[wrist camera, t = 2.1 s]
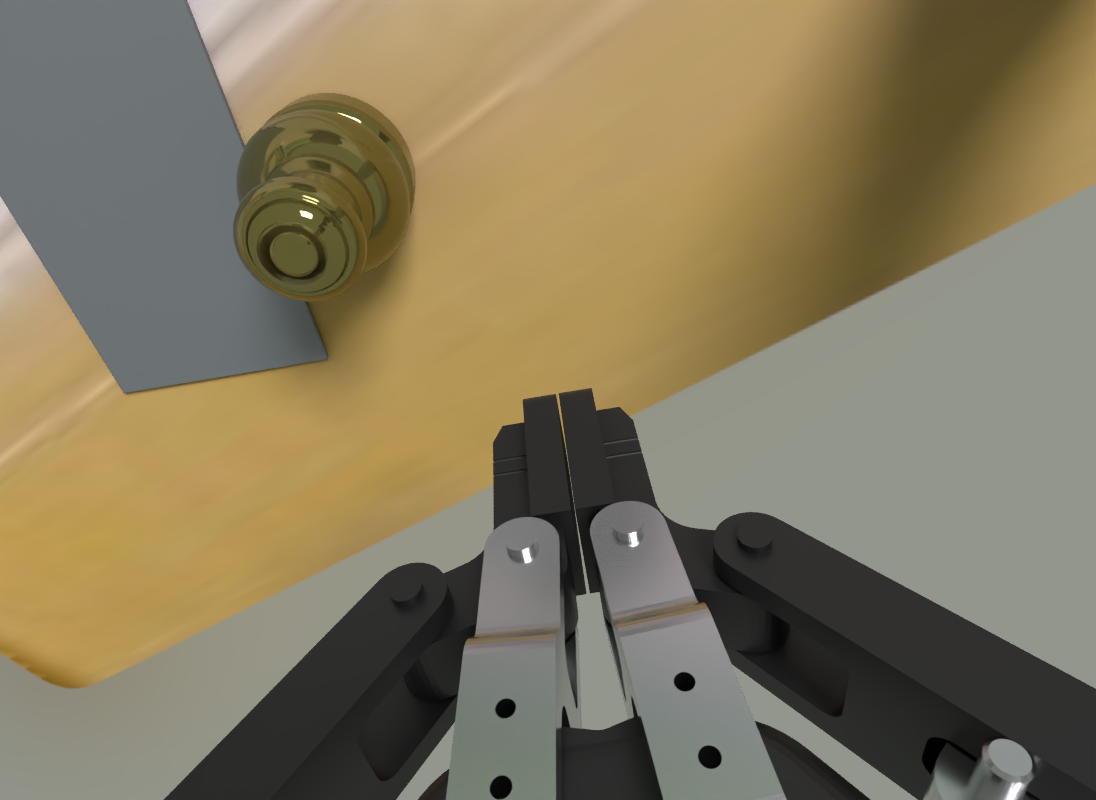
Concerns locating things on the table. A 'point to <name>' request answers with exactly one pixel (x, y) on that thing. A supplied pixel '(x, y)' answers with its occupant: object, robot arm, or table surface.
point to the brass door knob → (322, 196)
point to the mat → (136, 190)
